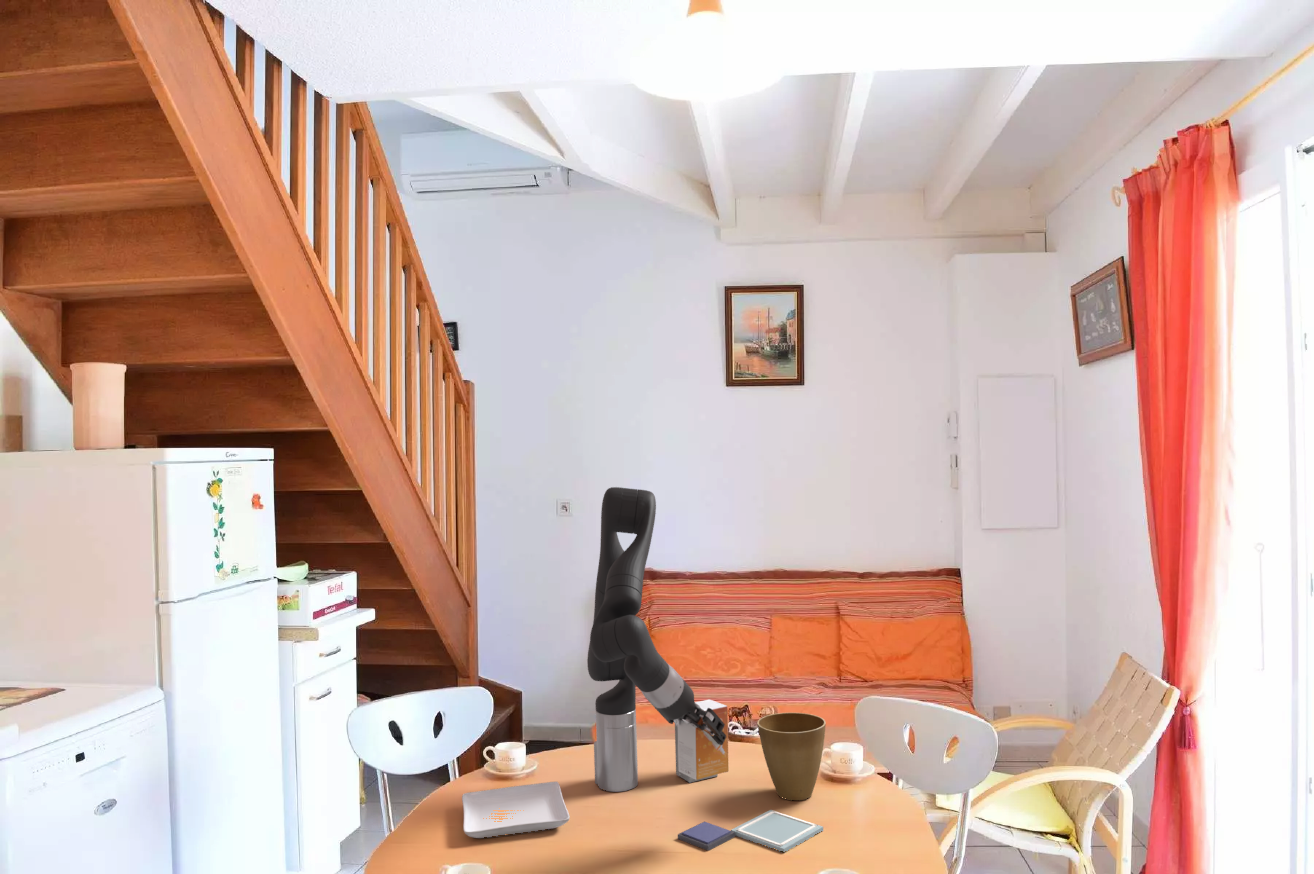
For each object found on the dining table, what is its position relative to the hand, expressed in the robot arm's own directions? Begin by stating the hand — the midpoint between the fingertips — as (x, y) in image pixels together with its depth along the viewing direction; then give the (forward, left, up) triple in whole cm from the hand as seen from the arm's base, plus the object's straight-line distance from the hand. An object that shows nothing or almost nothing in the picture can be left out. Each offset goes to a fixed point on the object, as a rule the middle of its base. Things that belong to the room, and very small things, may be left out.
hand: (707, 736), depth 178 cm
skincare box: (-24, +23, -20) cm, 38 cm away
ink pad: (0, -1, -19) cm, 20 cm away
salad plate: (-37, -20, -20) cm, 47 cm away
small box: (0, -2, -7) cm, 7 cm away
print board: (+9, +10, -19) cm, 24 cm away
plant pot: (0, +28, -20) cm, 34 cm away
